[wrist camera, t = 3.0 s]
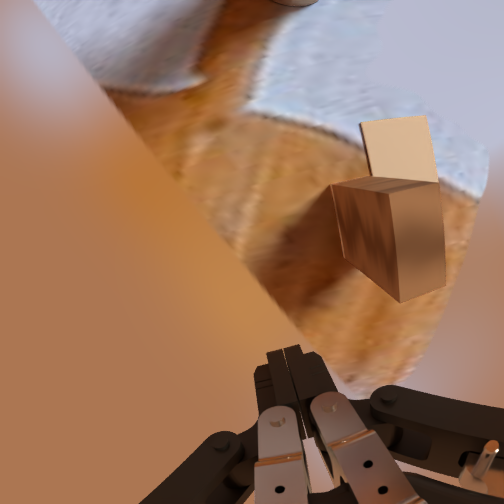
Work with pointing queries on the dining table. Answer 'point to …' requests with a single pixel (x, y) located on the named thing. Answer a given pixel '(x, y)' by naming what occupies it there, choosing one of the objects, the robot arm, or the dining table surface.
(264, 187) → the dining table surface
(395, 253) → the walnut block
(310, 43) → the dining table surface
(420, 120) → the beige rectangular block
